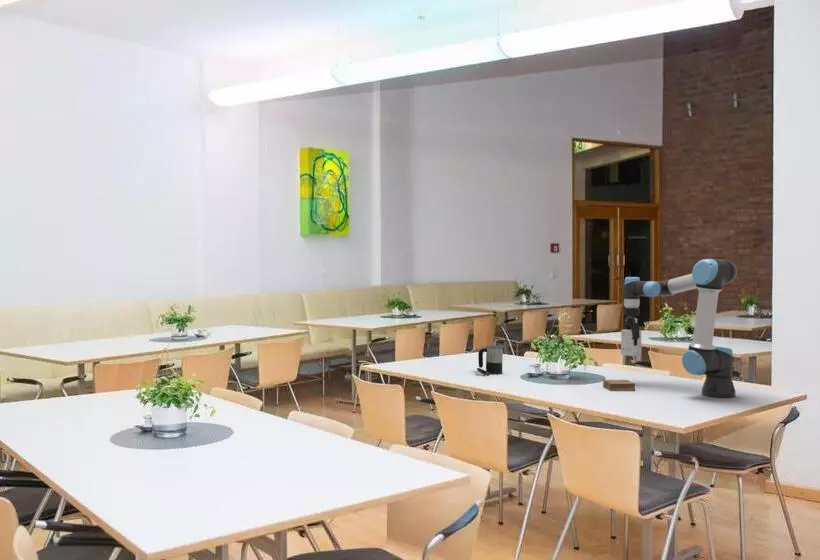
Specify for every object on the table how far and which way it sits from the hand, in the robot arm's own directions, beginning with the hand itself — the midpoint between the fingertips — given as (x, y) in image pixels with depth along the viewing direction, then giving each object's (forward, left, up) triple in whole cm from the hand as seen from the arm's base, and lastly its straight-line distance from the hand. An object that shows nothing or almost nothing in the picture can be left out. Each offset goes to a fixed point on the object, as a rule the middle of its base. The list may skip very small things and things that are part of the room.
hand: (631, 350), depth 418 cm
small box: (0, 0, -3) cm, 2 cm away
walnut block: (-16, +11, -17) cm, 26 cm away
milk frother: (+31, +67, -17) cm, 76 cm away
